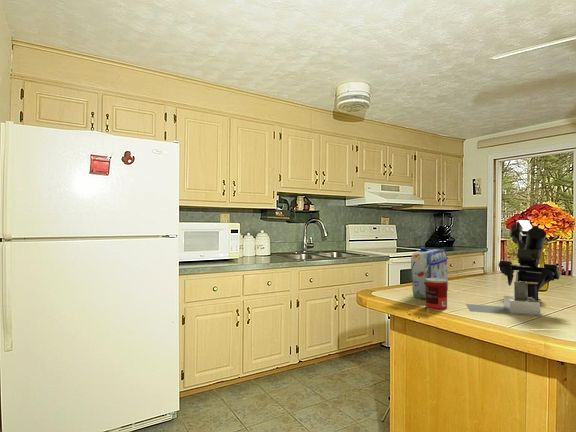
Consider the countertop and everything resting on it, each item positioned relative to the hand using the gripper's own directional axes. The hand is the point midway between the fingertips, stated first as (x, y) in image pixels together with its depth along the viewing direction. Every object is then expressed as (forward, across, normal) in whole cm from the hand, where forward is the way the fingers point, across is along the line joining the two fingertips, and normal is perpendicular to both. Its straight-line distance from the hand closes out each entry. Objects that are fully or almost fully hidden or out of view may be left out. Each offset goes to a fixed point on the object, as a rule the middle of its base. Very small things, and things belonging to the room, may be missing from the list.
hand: (523, 286), depth 128 cm
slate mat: (+11, -5, +2) cm, 12 cm away
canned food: (+21, -23, -8) cm, 32 cm away
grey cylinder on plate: (+8, 0, +3) cm, 9 cm away
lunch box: (+8, -35, +5) cm, 36 cm away
